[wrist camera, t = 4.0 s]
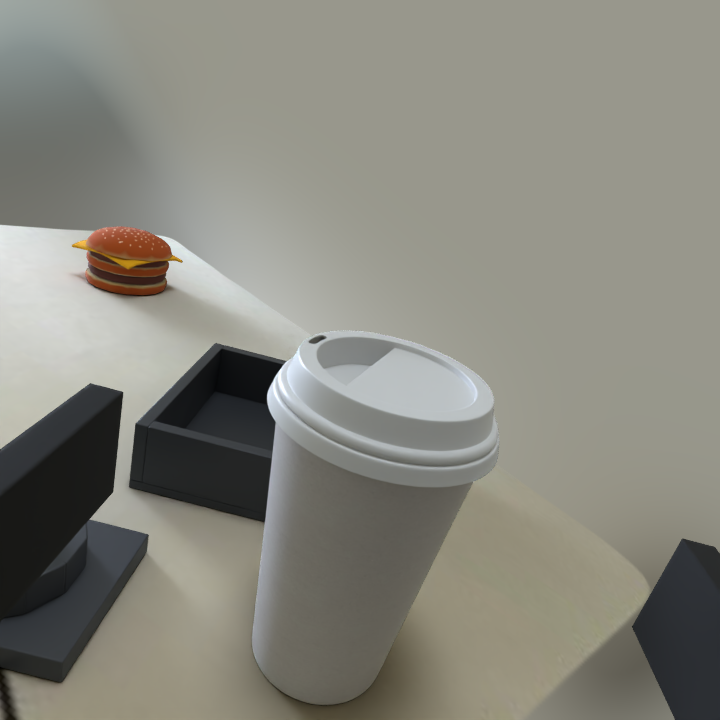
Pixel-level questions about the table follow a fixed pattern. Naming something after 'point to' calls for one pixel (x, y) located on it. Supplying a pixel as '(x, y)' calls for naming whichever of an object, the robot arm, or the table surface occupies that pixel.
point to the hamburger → (127, 260)
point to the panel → (69, 600)
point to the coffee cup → (360, 502)
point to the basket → (211, 435)
